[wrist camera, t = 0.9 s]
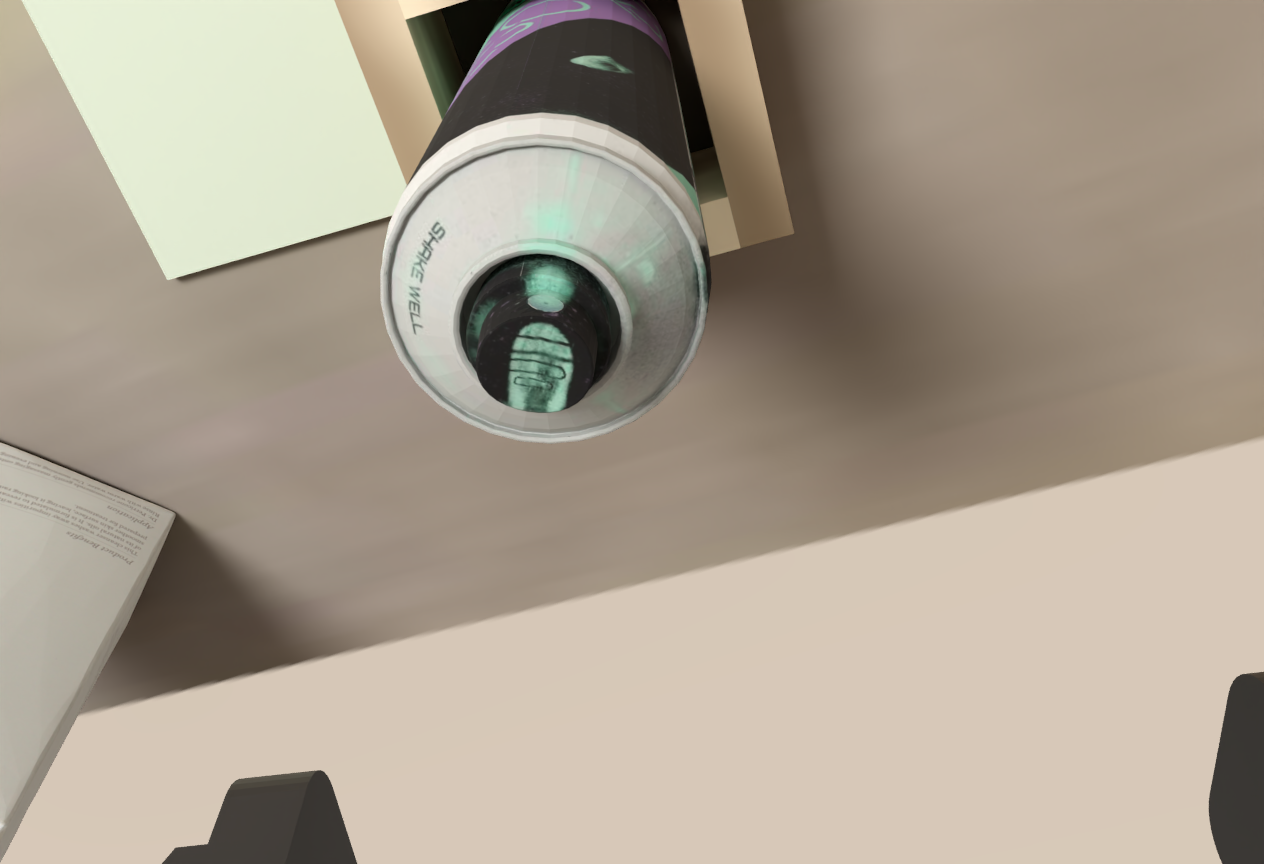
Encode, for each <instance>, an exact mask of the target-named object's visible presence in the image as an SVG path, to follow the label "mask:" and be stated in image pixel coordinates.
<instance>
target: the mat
mask: <svg viewBox="0 0 1264 864" xmlns="http://www.w3.org/2000/svg"><path fill="white" fill-rule="evenodd" d="M22 2H23V4H24V6H25V8H26V9H27V11H28V13H29V15H30V17H31V19H32V21H33V23H34V25H35V27H36V29H37V31H38V32H39V34H40V36H41V38H42V40H43V42H44V44H45V46H46V48H47V50H48V52H49V54H50V56H51V57H52V59H53V61H54V63H55V65H56V67H57V69H58V71H59V73H60V75H61V77H62V79H63V80H64V82H65V84H66V86H67V88H68V90H69V92H70V94H71V96H72V98H73V100H74V102H75V104H76V105H77V107H78V109H79V111H80V113H81V115H82V117H83V119H84V121H85V123H86V125H87V127H88V128H89V130H90V132H91V134H92V136H93V138H94V140H95V142H96V144H97V146H98V148H99V150H100V152H101V153H102V155H103V157H104V159H105V161H106V163H107V165H108V167H109V169H110V171H111V173H112V175H113V176H114V178H115V180H116V182H117V184H118V186H119V188H120V190H121V192H122V194H123V196H124V198H125V200H126V201H127V203H128V205H129V207H130V209H131V211H132V213H133V215H134V217H135V219H136V221H137V223H138V224H139V226H140V228H141V230H142V232H143V234H144V236H145V238H146V240H147V242H148V244H149V246H150V248H151V249H152V251H153V253H154V255H155V257H156V259H157V261H158V263H159V265H160V267H161V269H162V271H163V272H164V274H165V276H166V278H167V280H170V279H173V278H177V277H180V276H184V275H187V274H191V273H194V272H198V271H201V270H205V269H208V268H212V267H215V266H219V265H222V264H225V263H229V262H232V261H236V260H239V259H243V258H246V257H250V256H253V255H257V254H260V253H264V252H267V251H271V250H274V249H278V248H281V247H285V246H288V245H291V244H295V243H298V242H302V241H305V240H309V239H312V238H316V237H319V236H323V235H326V234H330V233H333V232H337V231H340V230H344V229H347V228H351V227H354V226H358V225H361V224H364V223H368V222H371V221H375V220H378V219H382V218H385V217H389V216H392V215H393V214H394V211H395V209H396V207H397V205H398V202H399V200H400V198H401V195H402V193H403V192H404V190H405V188H406V186H407V184H406V182H405V179H404V177H403V174H402V172H401V169H400V166H399V164H398V161H397V159H396V156H395V154H394V151H393V149H392V146H391V144H390V141H389V138H388V136H387V133H386V131H385V128H384V126H383V123H382V121H381V118H380V116H379V113H378V110H377V108H376V105H375V103H374V100H373V98H372V95H371V93H370V90H369V88H368V85H367V82H366V80H365V77H364V75H363V72H362V70H361V67H360V65H359V62H358V60H357V57H356V54H355V52H354V49H353V47H352V44H351V42H350V39H349V37H348V34H347V32H346V29H345V26H344V24H343V21H342V19H341V16H340V14H339V11H338V9H337V6H336V4H335V1H334V0H22Z"/></svg>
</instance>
